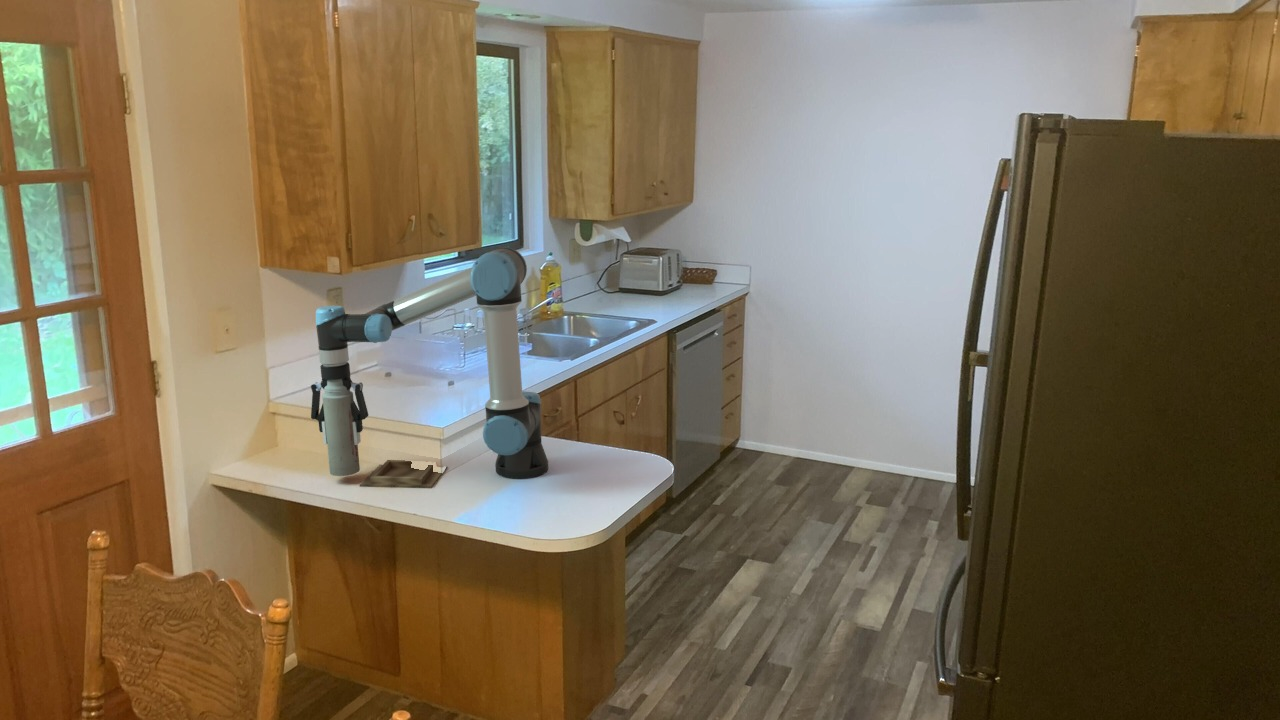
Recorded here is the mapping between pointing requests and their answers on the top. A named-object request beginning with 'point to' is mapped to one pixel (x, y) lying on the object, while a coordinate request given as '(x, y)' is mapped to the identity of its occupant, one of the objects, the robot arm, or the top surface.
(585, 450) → the top surface
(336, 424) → the thermos bottle
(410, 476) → the brown wooden tray
